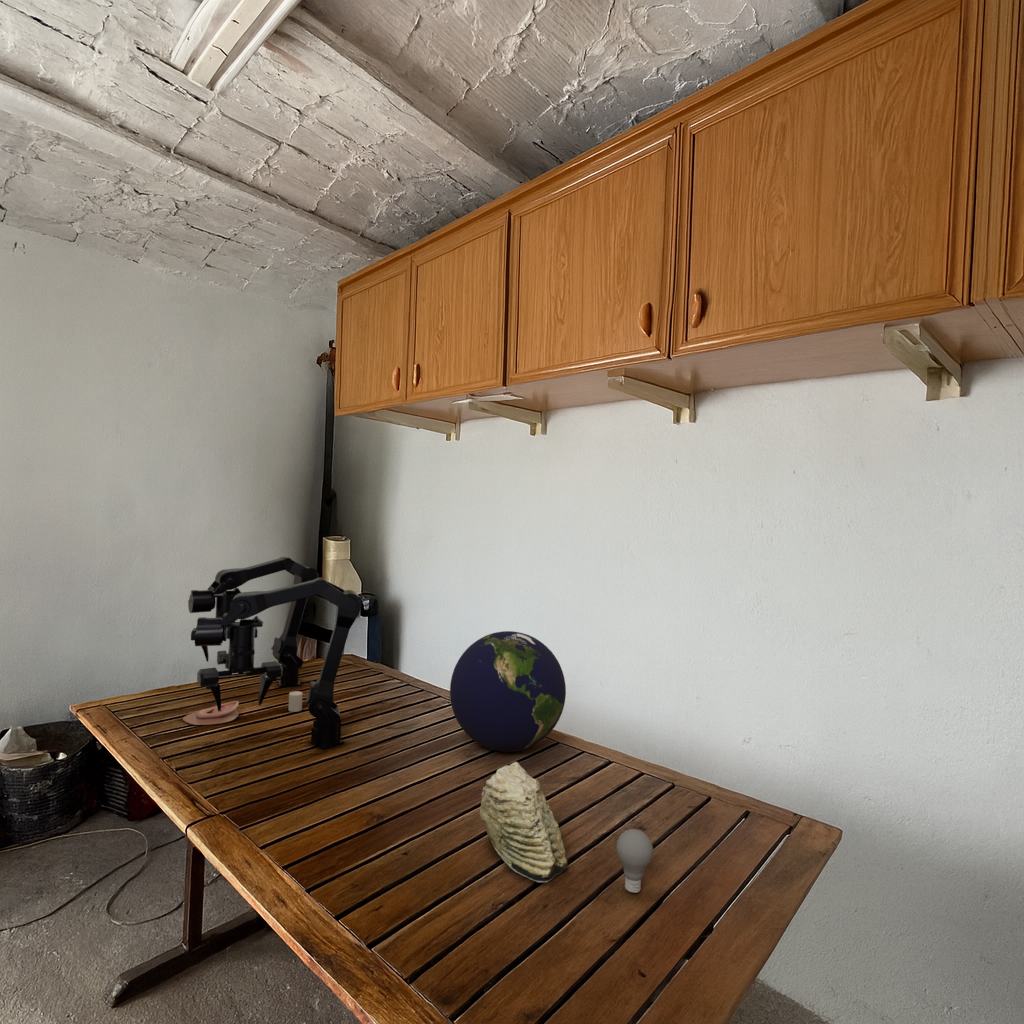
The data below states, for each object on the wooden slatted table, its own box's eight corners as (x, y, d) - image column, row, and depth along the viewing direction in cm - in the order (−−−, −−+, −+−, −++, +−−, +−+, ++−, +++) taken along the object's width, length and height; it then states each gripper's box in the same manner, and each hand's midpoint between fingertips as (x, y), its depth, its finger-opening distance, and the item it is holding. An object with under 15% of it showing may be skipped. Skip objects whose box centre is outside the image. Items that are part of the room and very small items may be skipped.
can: (289, 707, 188) (290, 691, 188) (302, 707, 188) (303, 691, 188) (287, 712, 184) (288, 695, 184) (300, 711, 185) (301, 695, 185)
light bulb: (610, 879, 108) (613, 822, 108) (644, 879, 109) (647, 822, 109) (619, 902, 102) (622, 840, 102) (655, 901, 103) (658, 840, 103)
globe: (494, 719, 185) (499, 617, 185) (584, 745, 168) (589, 633, 167) (423, 749, 161) (428, 631, 160) (519, 784, 143) (525, 652, 143)
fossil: (501, 827, 124) (504, 751, 124) (575, 868, 111) (578, 784, 111) (467, 843, 118) (470, 763, 118) (541, 889, 105) (545, 799, 105)
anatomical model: (175, 707, 171) (204, 695, 183) (174, 722, 172) (203, 709, 183) (218, 713, 169) (245, 700, 180) (218, 728, 169) (244, 714, 180)
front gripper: (273, 634, 167) (271, 693, 167) (194, 641, 157) (192, 704, 157) (284, 643, 158) (282, 706, 158) (201, 651, 147) (199, 717, 148)
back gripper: (190, 616, 186) (188, 669, 186) (258, 614, 193) (256, 665, 194) (193, 609, 196) (191, 659, 196) (257, 608, 204) (255, 656, 204)
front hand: (239, 707), depth 155 cm, fingers open, 9 cm apart
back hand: (223, 660), depth 197 cm, fingers open, 9 cm apart
